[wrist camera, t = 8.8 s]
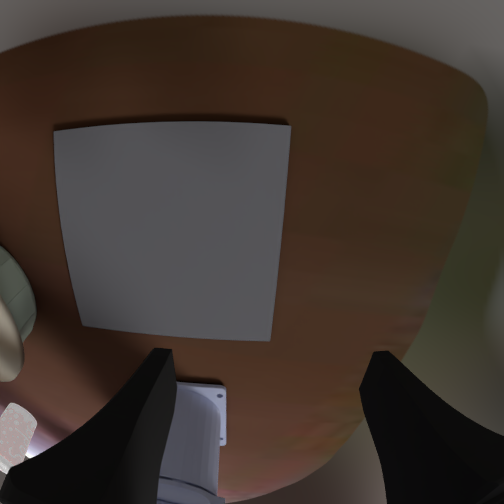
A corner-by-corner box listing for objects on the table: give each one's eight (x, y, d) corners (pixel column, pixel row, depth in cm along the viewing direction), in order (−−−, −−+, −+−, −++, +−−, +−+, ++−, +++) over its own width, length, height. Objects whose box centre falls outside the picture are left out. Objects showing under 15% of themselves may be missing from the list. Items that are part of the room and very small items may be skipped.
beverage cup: (45, 434, 29) (14, 513, 16) (10, 416, 28) (-25, 489, 15) (36, 411, 27) (-3, 499, 14) (-1, 391, 26) (-44, 470, 13)
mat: (269, 337, 21) (270, 341, 21) (84, 322, 21) (82, 325, 20) (289, 125, 16) (291, 126, 15) (57, 131, 15) (53, 131, 15)
